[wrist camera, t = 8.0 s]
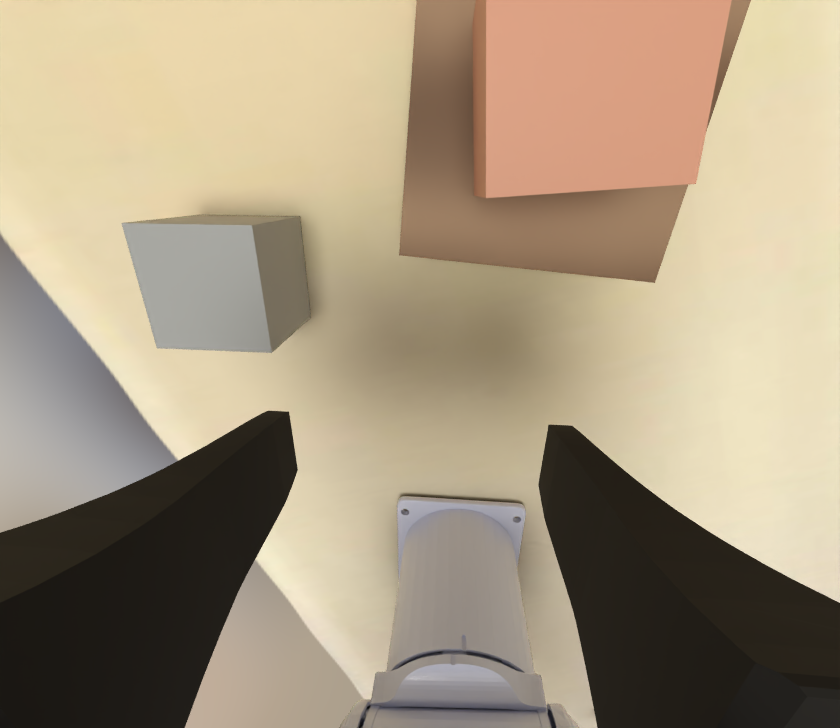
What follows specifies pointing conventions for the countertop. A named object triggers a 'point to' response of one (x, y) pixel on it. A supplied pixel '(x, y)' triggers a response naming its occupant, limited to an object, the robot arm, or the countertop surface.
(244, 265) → the grey cube
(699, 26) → the salmon pink cube
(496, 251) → the walnut block
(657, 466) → the countertop surface
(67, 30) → the countertop surface
